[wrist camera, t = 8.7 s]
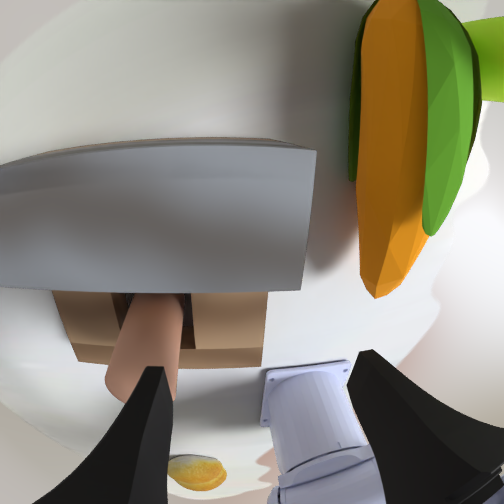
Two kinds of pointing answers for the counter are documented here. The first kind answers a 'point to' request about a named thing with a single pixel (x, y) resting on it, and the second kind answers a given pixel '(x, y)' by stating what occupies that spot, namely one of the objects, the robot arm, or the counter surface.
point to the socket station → (160, 236)
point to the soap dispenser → (489, 55)
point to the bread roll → (197, 472)
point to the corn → (408, 130)
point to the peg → (147, 342)
